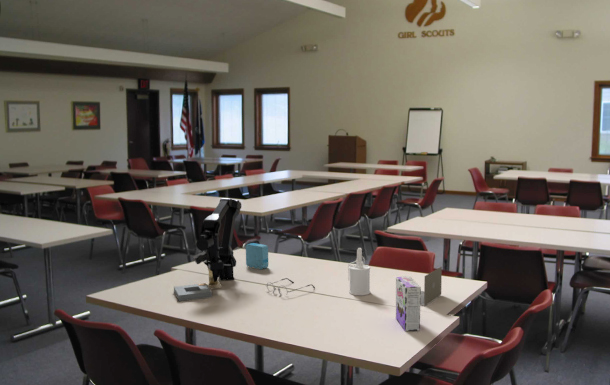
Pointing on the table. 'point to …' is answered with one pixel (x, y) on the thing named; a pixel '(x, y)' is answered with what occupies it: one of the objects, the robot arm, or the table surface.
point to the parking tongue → (214, 286)
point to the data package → (257, 255)
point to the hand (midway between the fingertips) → (213, 279)
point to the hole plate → (192, 292)
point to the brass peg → (211, 278)
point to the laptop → (431, 287)
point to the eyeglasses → (284, 286)
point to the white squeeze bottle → (359, 276)
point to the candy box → (408, 303)
